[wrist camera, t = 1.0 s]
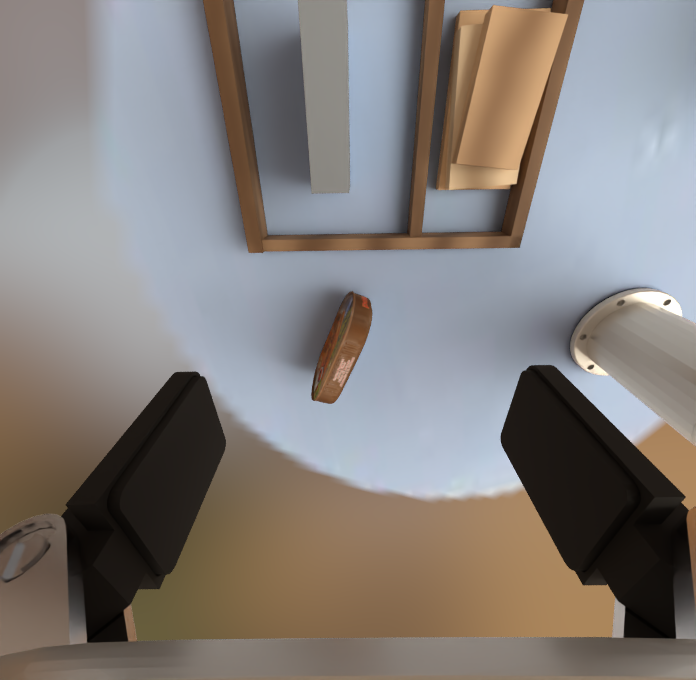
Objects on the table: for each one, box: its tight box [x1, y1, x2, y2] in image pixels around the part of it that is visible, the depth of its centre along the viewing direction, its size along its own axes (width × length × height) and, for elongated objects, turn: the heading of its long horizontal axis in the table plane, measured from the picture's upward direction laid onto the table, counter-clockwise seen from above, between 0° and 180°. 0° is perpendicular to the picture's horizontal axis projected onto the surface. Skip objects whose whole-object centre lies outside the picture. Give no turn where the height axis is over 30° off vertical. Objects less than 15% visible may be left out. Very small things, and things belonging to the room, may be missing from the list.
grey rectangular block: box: [298, 0, 350, 194], centre depth 25 cm, size 3×12×9 cm, turn 1°
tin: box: [311, 291, 372, 404], centre depth 38 cm, size 15×3×8 cm, turn 158°
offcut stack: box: [436, 5, 568, 190], centre depth 27 cm, size 7×13×5 cm, turn 1°
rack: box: [203, 0, 584, 253], centre depth 28 cm, size 29×24×3 cm
